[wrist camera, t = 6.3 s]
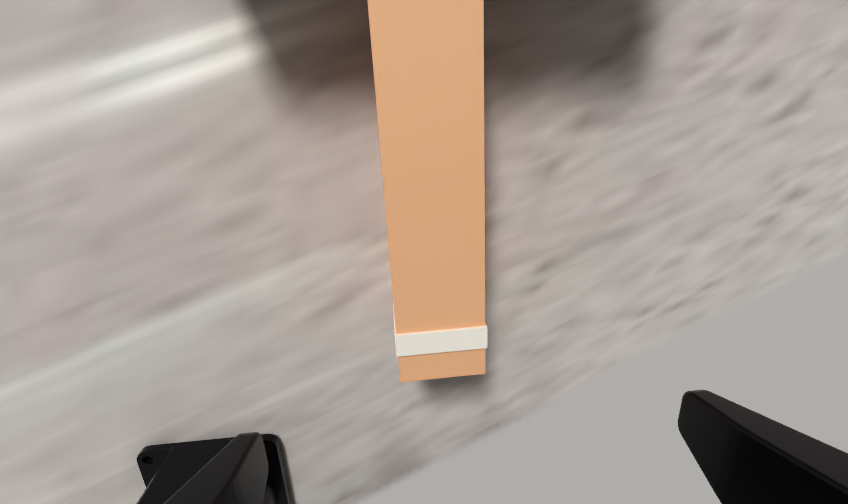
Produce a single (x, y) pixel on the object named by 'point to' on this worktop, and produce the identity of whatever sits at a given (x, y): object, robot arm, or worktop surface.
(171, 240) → the worktop surface
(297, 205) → the worktop surface
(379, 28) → the tan banded carton
